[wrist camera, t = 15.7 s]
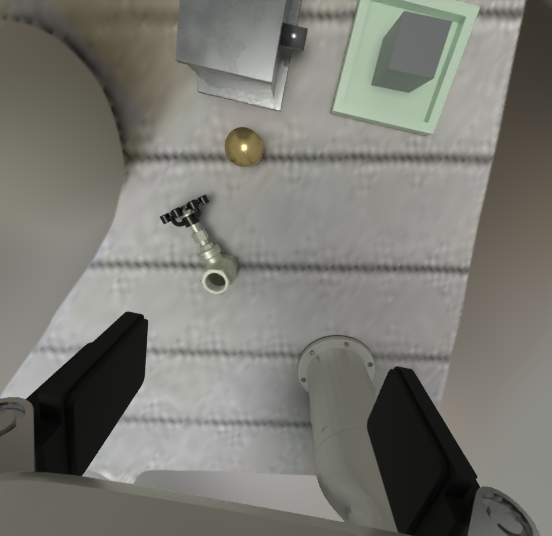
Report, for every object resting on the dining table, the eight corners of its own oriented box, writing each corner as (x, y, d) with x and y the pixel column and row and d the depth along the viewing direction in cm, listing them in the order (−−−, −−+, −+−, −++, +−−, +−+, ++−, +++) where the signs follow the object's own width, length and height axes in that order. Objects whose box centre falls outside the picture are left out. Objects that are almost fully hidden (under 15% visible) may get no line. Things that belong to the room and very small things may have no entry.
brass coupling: (261, 168, 37) (257, 169, 32) (230, 162, 37) (222, 162, 32) (267, 135, 36) (263, 131, 31) (235, 128, 36) (227, 123, 31)
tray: (425, 135, 35) (433, 134, 33) (330, 113, 34) (332, 110, 33) (468, 16, 31) (480, 6, 29) (361, -11, 30) (365, -23, 28)
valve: (252, 268, 42) (212, 191, 38) (246, 286, 36) (197, 197, 32) (213, 284, 43) (171, 212, 40) (201, 305, 37) (149, 221, 33)
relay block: (408, 92, 33) (433, 78, 27) (371, 85, 33) (388, 68, 27) (423, 45, 31) (453, 19, 26) (383, 36, 31) (404, 8, 26)
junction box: (291, 113, 35) (292, 96, 26) (198, 92, 34) (167, 67, 25) (316, -10, 31) (328, -82, 22) (211, -36, 30) (179, -121, 21)
